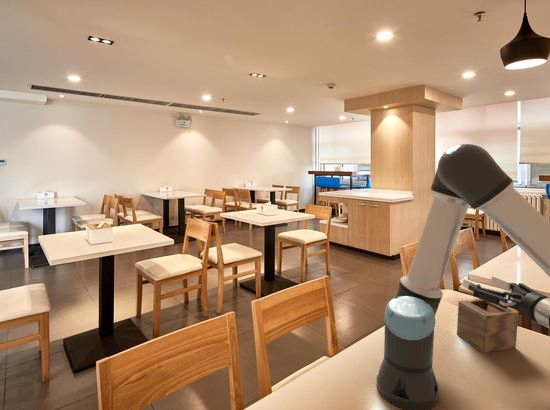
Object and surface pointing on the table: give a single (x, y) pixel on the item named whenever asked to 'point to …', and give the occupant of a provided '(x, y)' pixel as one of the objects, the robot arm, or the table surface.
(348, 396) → the table surface
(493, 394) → the table surface
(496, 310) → the tall salmon pillar block
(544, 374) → the table surface
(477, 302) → the tip box
